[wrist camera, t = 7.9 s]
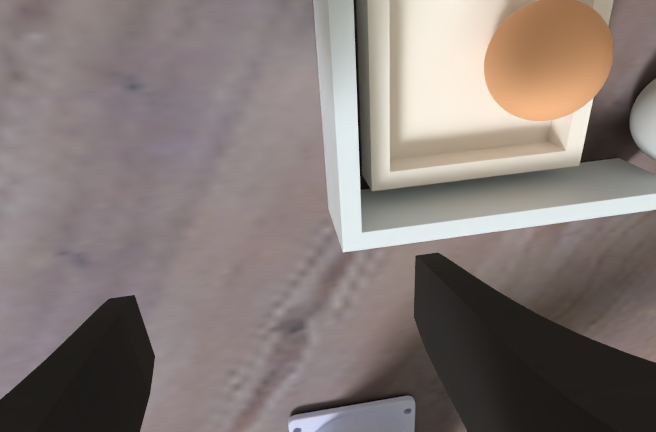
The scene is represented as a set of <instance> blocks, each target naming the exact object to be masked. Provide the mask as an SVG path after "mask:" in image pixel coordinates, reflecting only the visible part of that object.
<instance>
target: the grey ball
mask: <svg viewBox="0 0 656 432" xmlns="http://www.w3.org/2000/svg"><path fill="white" fill-rule="evenodd" d="M629 124H630V131H631V135H632V137H633V140H634V142H635V143H636V145H637V146H638V147H639V149H640V150H641V151H642V152H643V153H645V154H646V155H647V156H649V157H650V158H652V159H654V160H656V79H654V80H653V81H652V82H650V83H649V84H648V85H647V86H646V87H645V88H644V89H643V90H642V92H641V93H640V94H639V95H638V97H637V98H636V100H635V102H634V104H633V107H632V110H631V114H630V121H629Z"/></svg>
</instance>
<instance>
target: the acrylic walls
mask: <svg viewBox="0 0 656 432" xmlns="http://www.w3.org/2000/svg"><path fill="white" fill-rule="evenodd" d="M313 6H314V19H315V33H316V46H317V60H318V73H319V87H320V100H321V114H322V127H323V141H324V154H325V168H326V181H327V195H328V208H329V212H330V215H331V218H332V221H333V224H334V227H335V230H336V233H337V236H338V239H339V242H340V245H341V247H342V250H343V252H350V251H357V250H364V249H372V248H379V247H386V246H393V245H401V244H408V243H415V242H423V241H430V240H437V239H445V238H452V237H459V236H467V235H474V234H481V233H488V232H496V231H503V230H510V229H518V228H525V227H532V226H540V225H547V224H554V223H562V222H569V221H576V220H583V219H591V218H598V217H605V216H613V215H620V214H627V213H635V212H642V211H649V210H656V175H654V174H652V173H650V172H648V171H646V170H643V169H641V168H639V167H637V166H635V165H633V164H631V163H629V162H627V161H624V160H622V159H620V158H615V159H607V160H599V161H591V162H583V163H580V165H579V166H573V167H565V168H557V169H548V170H540V171H532V172H524V173H516V174H508V175H500V176H492V177H484V178H476V179H468V180H460V181H452V182H444V183H436V184H428V185H419V186H411V187H403V188H395V189H387V190H379V191H371V189H364V190H360V167H359V139H358V112H357V84H356V56H355V29H354V1H353V0H313Z"/></svg>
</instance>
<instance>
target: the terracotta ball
mask: <svg viewBox="0 0 656 432" xmlns="http://www.w3.org/2000/svg"><path fill="white" fill-rule="evenodd" d="M613 56H614V45H613V39H612V35H611V32H610V29H609V28H608V26H607V24H606V22H605V21H604V19H603V18H602V17H601V15H600V14H599V13H597V12H596V11H595V10H594V9H593V8H591V7H590V6H588V5H586V4H584V3H582V2H580V1H577V0H538V1H535V2H533V3H530V4H528V5H526V6H524V7H522V8H520V9H519V10H517V11H516V12H514V13H513V14H511V15H510V16H509V17H508V18H507V19H506V20H505V21H504V22H503V23H502V24H501V25H500V26H499V28H498V29H497V30H496V32H495V33H494V35H493V37H492V39H491V41H490V43H489V45H488V48H487V51H486V54H485V60H484V76H485V81H486V85H487V88H488V90H489V92H490V94H491V96H492V97H493V99H494V100H495V101H496V102H497V104H498V105H499V106H500V107H501V108H503V109H504V110H505V111H507V112H508V113H510V114H512V115H514V116H516V117H519V118H522V119H525V120H531V121H548V120H554V119H558V118H561V117H564V116H567V115H569V114H571V113H573V112H575V111H577V110H579V109H580V108H582V107H583V106H585V105H586V104H587V103H588V102H589V101H591V100H592V99H593V98H594V97H595V95H596V94H597V93H598V92H599V91H600V89H601V88H602V86H603V85H604V83H605V81H606V80H607V77H608V75H609V73H610V70H611V66H612V62H613Z"/></svg>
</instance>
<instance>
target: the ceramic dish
mask: <svg viewBox="0 0 656 432" xmlns="http://www.w3.org/2000/svg"><path fill="white" fill-rule="evenodd" d="M535 1H538V0H356V11H357V41H358V71H359V100H360V130H361V159H362V175H363V177H364V179H365V180H366V182H367V184H368V185H369V187H370V189H371V191H379V190H387V189H395V188H403V187H411V186H419V185H428V184H436V183H444V182H452V181H460V180H468V179H476V178H484V177H492V176H500V175H508V174H516V173H524V172H532V171H540V170H548V169H557V168H565V167H573V166H579V165H580V160H581V156H582V151H583V146H584V141H585V136H586V131H587V127H588V122H589V117H590V112H591V107H592V102H593V99H592V100H591V101H589V102H588V103H587V104H586V105H585V106H583V107H582V108H580V109H579V110H577V111H575V112H573V113H571V114H569V115H567V116H564V117H561V118H558V119H554V120H548V121H531V120H525V119H522V118H519V117H516V116H514V115H512V114H510V113H508V112H507V111H505V110H504V109H503V108H501V107H500V106H499V105H498V104H497V102H496V101H495V100H494V99H493V97H492V96H491V94H490V92H489V90H488V88H487V85H486V81H485V76H484V60H485V54H486V51H487V48H488V45H489V43H490V41H491V39H492V37H493V35H494V33H495V32H496V30H497V29H498V28H499V26H500V25H501V24H502V23H503V22H504V21H505V20H506V19H507V18H508V17H509V16H510V15H511V14H513V13H514V12H516V11H517V10H519V9H520V8H522V7H524V6H526V5H528V4H530V3H533V2H535ZM577 1H580V2H582V3H584V4H586V5H588V6H590V7H591V8H593V9H594V10H595V11H596V12H597V13H599V14H600V15H601V17H602V18H603V19H604V21H605V22H606V24H607V26H608V25H609V20H610V15H611V10H612V5H613V1H614V0H577Z"/></svg>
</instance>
